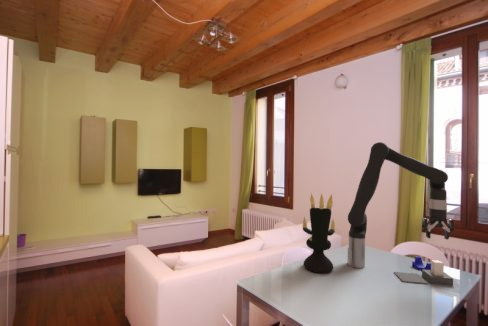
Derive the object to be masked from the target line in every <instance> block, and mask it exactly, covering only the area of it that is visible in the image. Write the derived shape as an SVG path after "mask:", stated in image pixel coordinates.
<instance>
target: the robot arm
mask: <svg viewBox="0 0 488 326" xmlns="http://www.w3.org/2000/svg"><path fill="white" fill-rule="evenodd" d="M385 161H388V162H391V163H393V164H396V165H397V166H399V167H401V168H403V169H405V170H406V171H409V172H411V173H413V174H415V175H418V176H420V177H423V178H425V179H427V180H429V188H430V189H429V191H430V192H429V193H430V194H429V205H428V206H429V208H428V209H429V210H428V211H429V212H428V213H429V214H428V215H429V218H425V217H423V218H422V221H421V222H422V223H421V228H422V230H425V237H426V238H428V239H431V231H432V230H433V229H434V228H442V229H443V230H444V239H445V240H449V239H450V233H452V232H455V228H454V227H455V226H454V220H453V219H451V218H449V219H447V217H448V207H447V206H448V203H447V190H446V182H447V181H448V180H449V175H448V174H447V173H446V172H445V171H444V170H443V169H439V168H436V167H434V166H430V165H428V164H427V163H425V162H423V161H420V160H418V159H415V158H413V157H410V156H407V155H406V154H405V155H404V154H402V153H400V152H398V151H396V150H395V149H392V148H391V147H389V145H387V144H386V143H384V142H375V143H374V144H373V145H372V146H371V148H370V153H369V157H368V161H367V165H366V167H365V168H364V171H363V173H362V174H361V175H362V176H361V178H360V181H359V183H358V186H357V187H358V188H357V190H356V193H355V198H354V201H353V204H352V205H351V208H350V211H349V212H348V213H347V214H348V215H347V222H348V223H349V225H350V228H349V231H348V247H347V265H348V266H349V267H351V268H352V267H353V268H356V269H363V268H365V267H366V234H367V230H368V229H367V225H368V224H367V222H368V218H367V214H366V210H367V207H368V205H369V204H370V202H371V200H372V198H373V196H374V195H375V192H376V190H377V187H378V184H379V180H380V176H381V175H380V174H381V170H382V167H383V165H384V162H385ZM446 224H448V226H447V225H446Z"/></svg>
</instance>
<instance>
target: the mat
mask: <svg viewBox="0 0 488 326" xmlns="http://www.w3.org/2000/svg"><path fill="white" fill-rule="evenodd" d="M393 274H394V275H395V276H396V277H397V278H398V279H399V280H400V281H401V282H402V283H411V284H422V285H429V281H427V280H426V279H425V278H424V277H423V276H422V275H420V274H418V273H414V272H402V271H401V272H400V271H394V272H393Z"/></svg>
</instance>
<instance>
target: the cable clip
mask: <svg viewBox="0 0 488 326" xmlns="http://www.w3.org/2000/svg"><path fill="white" fill-rule="evenodd" d="M411 264H412V265H411V266H412V267H414V268H415V269H416V268H417V269H416V270H418V271H422V269H424V270H431V262H426V264H424V263H423V260H422V256H414V261H413V260H412V263H411Z"/></svg>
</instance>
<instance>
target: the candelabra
mask: <svg viewBox="0 0 488 326" xmlns="http://www.w3.org/2000/svg"><path fill="white" fill-rule="evenodd" d="M309 198H310V199H309V200H310V207H311V208H309V219H310V228H311V229H310V228H308V224H307V223H308V222H307V220H306V217H305V216H303V221H302V230H303V232H304V233H306V234H307V235H310V237H309V238H308V239H307V240H306V242H305V245H306V246H307V247H308V248H309V249H311V250H313V251H312V253H311V254H310V255H308V256H307V257H306V258H305V259H304V261H303V264H302V265H303V267H304V268H305V269H306V270H308V271H310V272H313V273H318V274H319V273H320V274H326V273H330V272H332V271H333V270H334V264H333V262H332V261H331V259H330V258H329V257H327V256H326V255H325V252H324V251H327V250H330V249H331V247H332V242H331V241H330V240H329V238H328V237H330V236H332V235H334V234H335V232H336V230H335V229H336V224H335V220H334V219H331V218H332V207H333V193H331V194H330V196H329V198H328V200H327V202H326V208H325V203H324V202H325V200H324V197H323V193H321V194H320V198H319V202H318V203H319V207H315V199H314V196H313V193H312V192H310V197H309Z"/></svg>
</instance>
